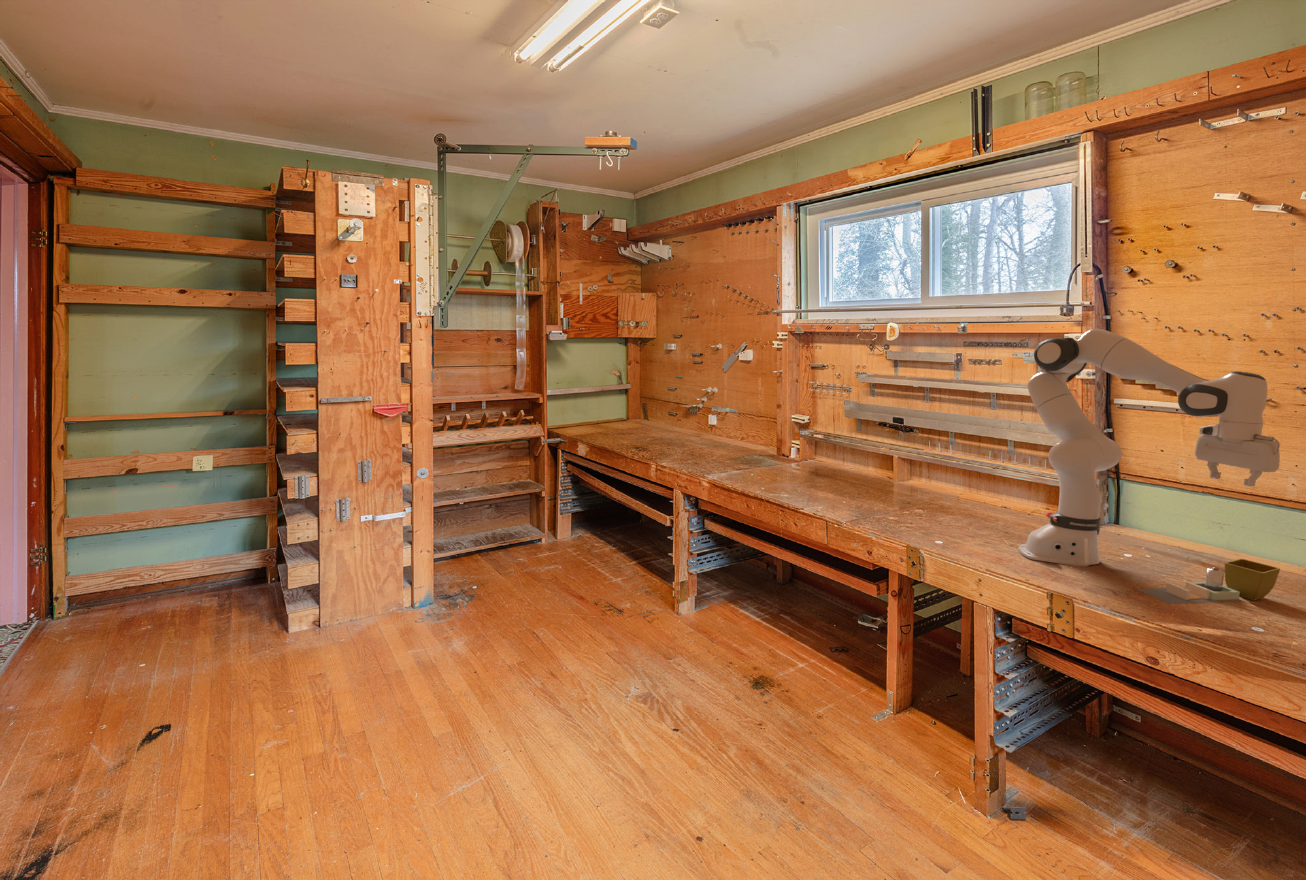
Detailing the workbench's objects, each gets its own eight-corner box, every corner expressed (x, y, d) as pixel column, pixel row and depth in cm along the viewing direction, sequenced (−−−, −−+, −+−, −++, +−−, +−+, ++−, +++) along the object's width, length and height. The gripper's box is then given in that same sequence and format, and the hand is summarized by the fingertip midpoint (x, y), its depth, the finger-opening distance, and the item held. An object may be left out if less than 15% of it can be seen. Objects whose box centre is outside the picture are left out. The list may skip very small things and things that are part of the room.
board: (1168, 607, 169) (1168, 603, 169) (1135, 592, 179) (1136, 589, 179) (1242, 604, 172) (1243, 601, 171) (1206, 590, 181) (1207, 586, 181)
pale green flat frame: (1213, 600, 172) (1214, 593, 171) (1186, 589, 179) (1187, 582, 179) (1238, 599, 173) (1239, 592, 172) (1211, 588, 180) (1212, 581, 180)
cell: (1207, 595, 175) (1211, 569, 173) (1200, 590, 178) (1204, 564, 177) (1223, 597, 174) (1227, 571, 172) (1216, 592, 177) (1220, 566, 176)
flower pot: (1258, 605, 171) (1263, 572, 170) (1219, 593, 179) (1223, 562, 178) (1275, 600, 175) (1281, 568, 174) (1236, 588, 183) (1241, 558, 182)
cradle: (1185, 599, 172) (1187, 591, 171) (1165, 591, 178) (1166, 582, 177) (1208, 599, 172) (1210, 590, 172) (1187, 590, 178) (1189, 581, 178)
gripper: (1291, 437, 165) (1282, 490, 167) (1213, 427, 185) (1206, 474, 187) (1269, 437, 164) (1260, 490, 166) (1194, 427, 184) (1187, 474, 187)
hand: (1231, 482), depth 177 cm, fingers open, 8 cm apart
